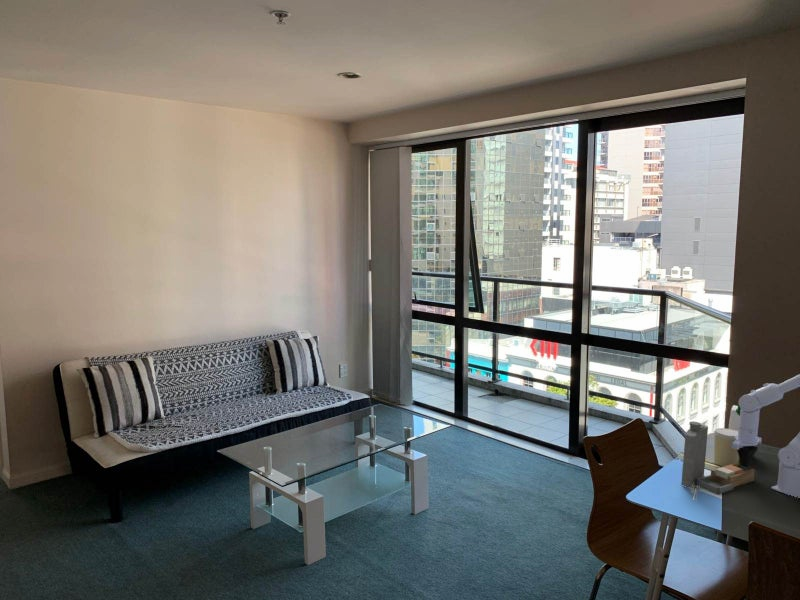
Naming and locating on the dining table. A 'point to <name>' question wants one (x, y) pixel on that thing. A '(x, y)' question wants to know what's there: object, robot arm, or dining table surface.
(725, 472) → the tile
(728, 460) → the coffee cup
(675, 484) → the dining table surface
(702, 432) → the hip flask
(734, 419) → the milk carton
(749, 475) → the board
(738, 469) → the tile
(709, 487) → the tray
